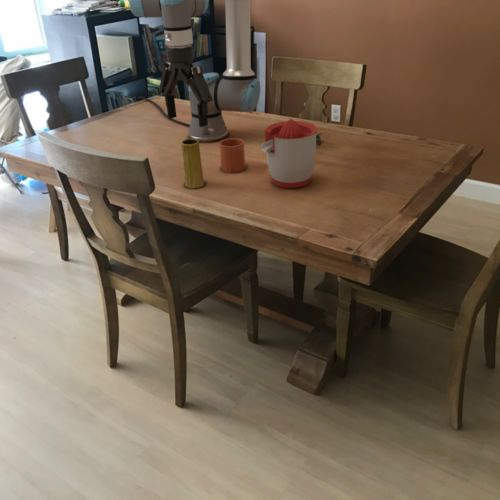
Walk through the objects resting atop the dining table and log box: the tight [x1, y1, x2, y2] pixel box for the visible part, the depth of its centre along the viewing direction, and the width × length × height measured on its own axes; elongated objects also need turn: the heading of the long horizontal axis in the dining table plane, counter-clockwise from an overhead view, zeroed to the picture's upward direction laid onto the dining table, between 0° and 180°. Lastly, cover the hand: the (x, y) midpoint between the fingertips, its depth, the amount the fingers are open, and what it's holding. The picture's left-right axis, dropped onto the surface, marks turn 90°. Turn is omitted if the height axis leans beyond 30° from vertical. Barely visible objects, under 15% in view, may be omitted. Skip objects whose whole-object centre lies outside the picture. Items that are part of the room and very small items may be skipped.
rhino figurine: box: [316, 131, 325, 146], centre depth 188 cm, size 4×14×6 cm, turn 37°
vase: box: [180, 138, 205, 189], centre depth 160 cm, size 6×6×14 cm
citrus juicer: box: [260, 118, 318, 189], centre depth 157 cm, size 16×17×20 cm
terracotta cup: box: [219, 137, 246, 174], centre depth 171 cm, size 8×8×9 cm
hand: (187, 121), depth 153 cm, fingers open, 13 cm apart
